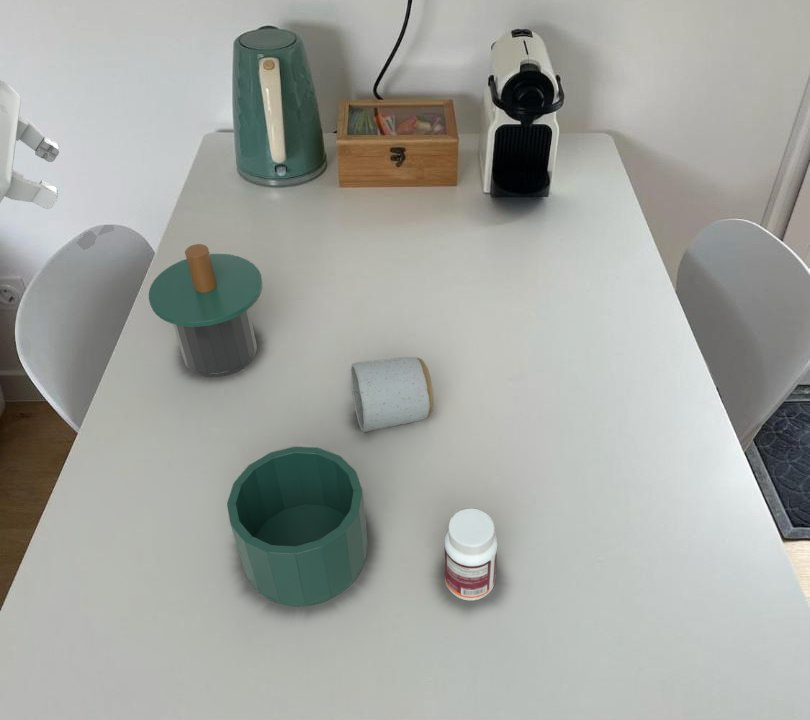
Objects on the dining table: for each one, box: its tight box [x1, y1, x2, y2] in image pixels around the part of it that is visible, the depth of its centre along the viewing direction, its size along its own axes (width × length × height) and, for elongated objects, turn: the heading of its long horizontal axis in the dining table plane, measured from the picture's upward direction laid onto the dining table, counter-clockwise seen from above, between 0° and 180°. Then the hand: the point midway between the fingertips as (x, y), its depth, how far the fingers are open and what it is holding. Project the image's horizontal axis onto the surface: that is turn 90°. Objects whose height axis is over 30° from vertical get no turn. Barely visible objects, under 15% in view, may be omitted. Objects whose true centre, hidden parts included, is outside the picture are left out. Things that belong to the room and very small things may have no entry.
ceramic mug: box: [350, 356, 434, 433], centre depth 90 cm, size 11×8×8 cm
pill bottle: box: [443, 507, 499, 601], centre depth 73 cm, size 5×5×8 cm
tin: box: [226, 446, 369, 607], centre depth 76 cm, size 12×12×8 cm
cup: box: [172, 308, 258, 378], centre depth 98 cm, size 9×9×9 cm
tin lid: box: [148, 243, 264, 327], centre depth 93 cm, size 13×13×6 cm
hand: (55, 176), depth 80 cm, fingers open, 8 cm apart
